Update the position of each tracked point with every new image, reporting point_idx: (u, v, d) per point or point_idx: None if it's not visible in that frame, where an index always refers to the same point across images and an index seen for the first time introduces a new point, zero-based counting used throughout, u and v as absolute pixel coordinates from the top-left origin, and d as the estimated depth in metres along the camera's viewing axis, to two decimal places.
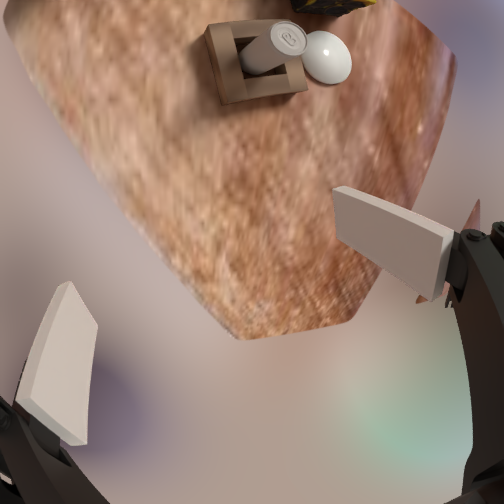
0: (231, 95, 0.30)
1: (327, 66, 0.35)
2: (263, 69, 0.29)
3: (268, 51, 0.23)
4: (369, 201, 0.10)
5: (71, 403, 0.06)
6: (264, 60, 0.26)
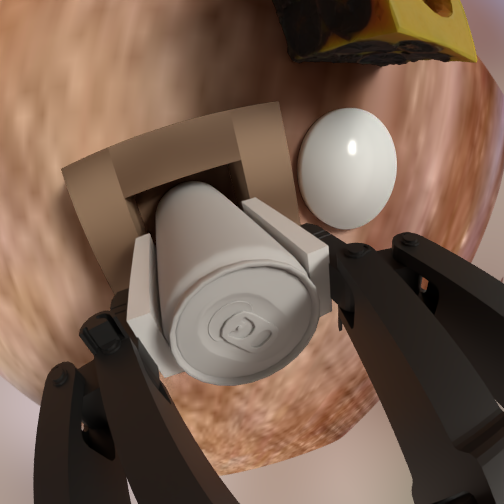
0: None
1: (352, 193, 0.20)
2: None
3: None
4: (263, 214, 0.11)
5: None
6: None
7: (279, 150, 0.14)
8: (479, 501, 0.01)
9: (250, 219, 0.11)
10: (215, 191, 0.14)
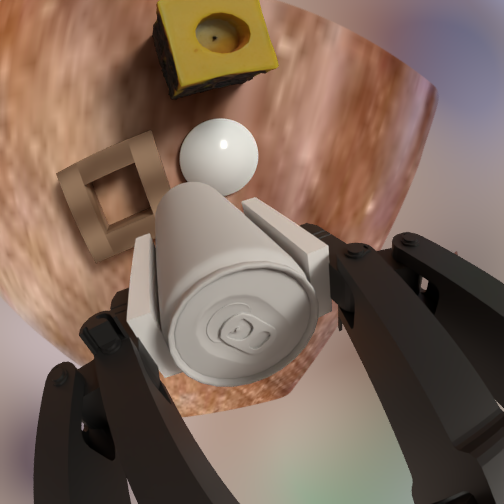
0: (97, 255, 0.29)
1: (219, 173, 0.33)
2: None
3: None
4: (263, 214, 0.11)
5: None
6: None
7: (153, 155, 0.27)
8: (479, 501, 0.01)
9: (249, 220, 0.11)
10: (214, 192, 0.14)
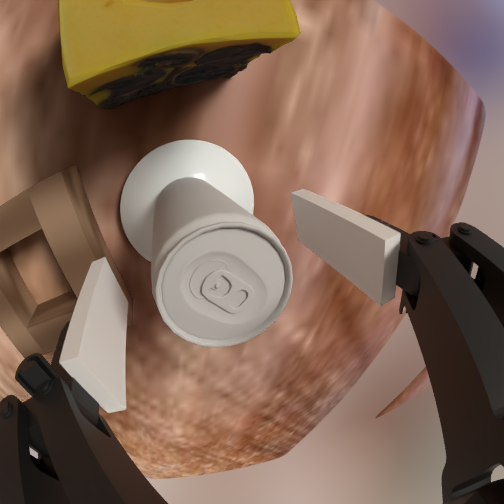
0: (24, 350, 0.16)
1: None
2: None
3: None
4: (321, 204, 0.11)
5: (112, 368, 0.07)
6: None
7: (68, 215, 0.14)
8: None
9: (234, 202, 0.12)
10: (207, 184, 0.16)
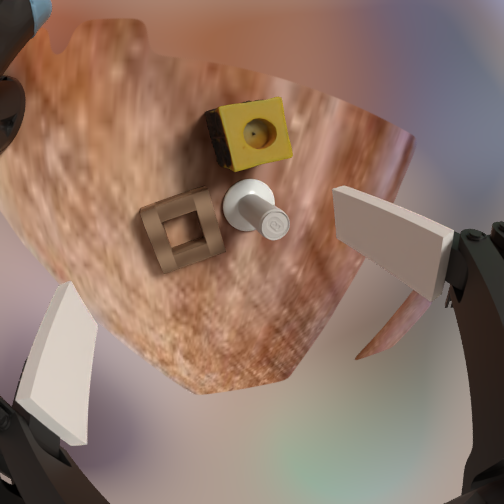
0: (165, 268, 0.47)
1: None
2: None
3: (260, 233, 0.42)
4: (369, 201, 0.10)
5: (71, 403, 0.06)
6: None
7: (209, 205, 0.45)
8: None
9: None
10: None
